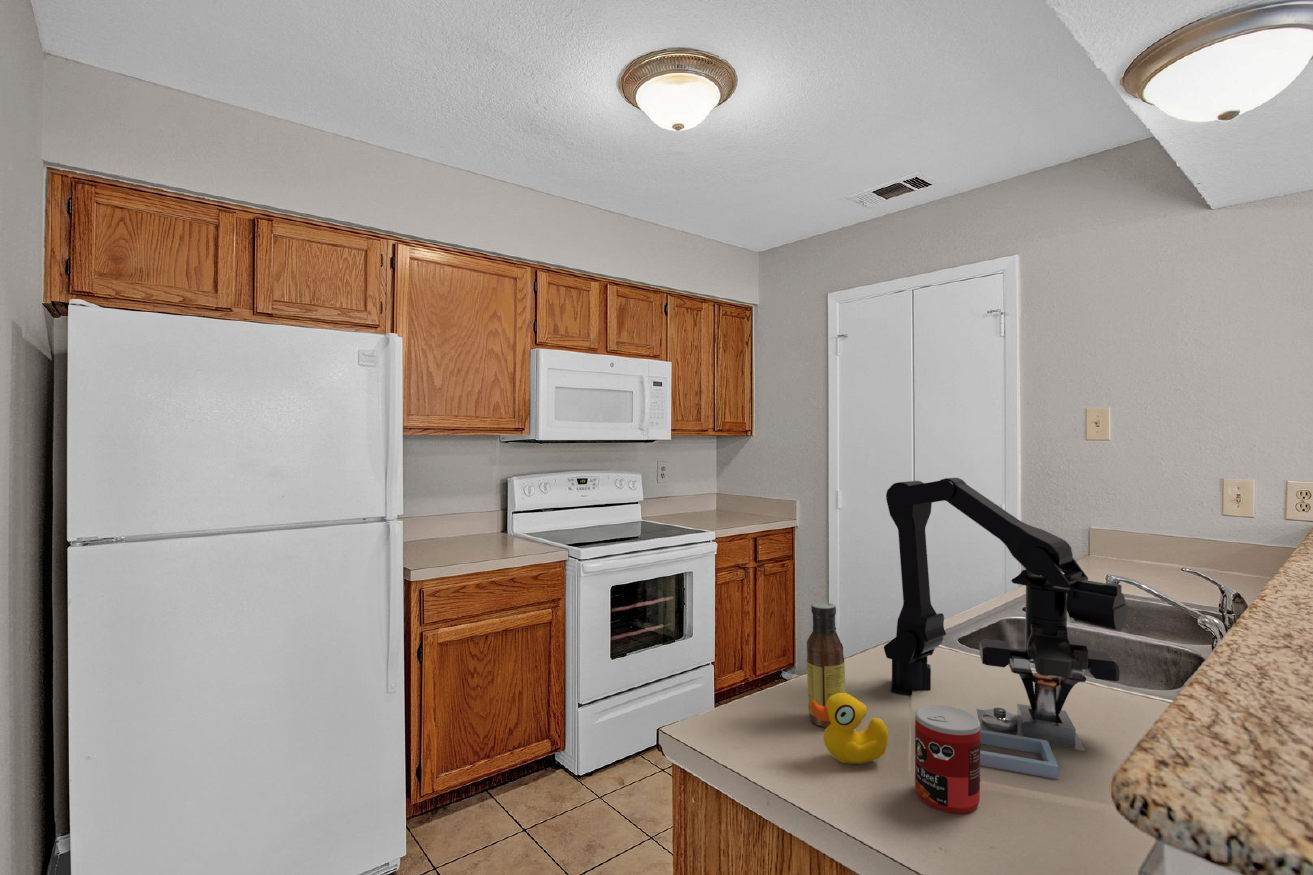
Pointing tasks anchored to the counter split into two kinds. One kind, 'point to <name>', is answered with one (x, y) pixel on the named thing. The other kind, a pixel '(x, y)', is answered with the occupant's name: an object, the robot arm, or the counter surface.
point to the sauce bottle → (824, 659)
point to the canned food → (947, 758)
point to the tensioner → (1031, 726)
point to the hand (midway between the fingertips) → (1045, 711)
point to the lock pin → (1045, 697)
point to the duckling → (850, 730)
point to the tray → (1018, 763)
